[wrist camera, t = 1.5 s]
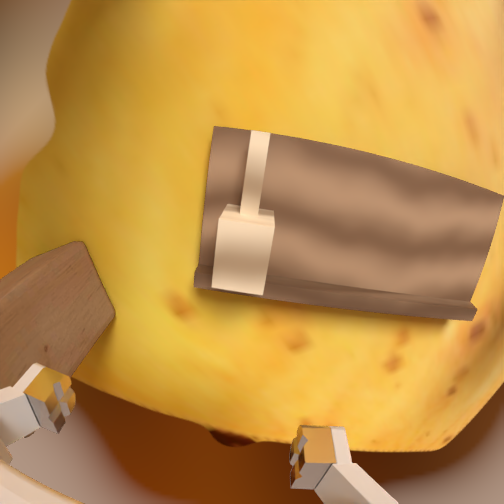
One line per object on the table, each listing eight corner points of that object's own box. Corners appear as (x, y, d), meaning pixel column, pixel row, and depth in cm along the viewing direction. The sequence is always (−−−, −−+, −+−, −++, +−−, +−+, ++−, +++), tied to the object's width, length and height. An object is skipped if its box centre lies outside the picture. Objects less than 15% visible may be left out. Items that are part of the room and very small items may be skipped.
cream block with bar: (237, 128, 25) (230, 127, 20) (285, 135, 25) (289, 135, 20) (220, 267, 29) (210, 293, 25) (263, 274, 29) (261, 301, 25)
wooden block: (120, 314, 34) (33, 444, 16) (64, 324, 36) (-21, 428, 17) (85, 235, 31) (-47, 336, 12) (31, 257, 33) (-80, 341, 14)
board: (217, 126, 27) (210, 125, 23) (493, 192, 27) (514, 199, 23) (201, 269, 32) (193, 287, 28) (457, 304, 32) (472, 320, 28)
